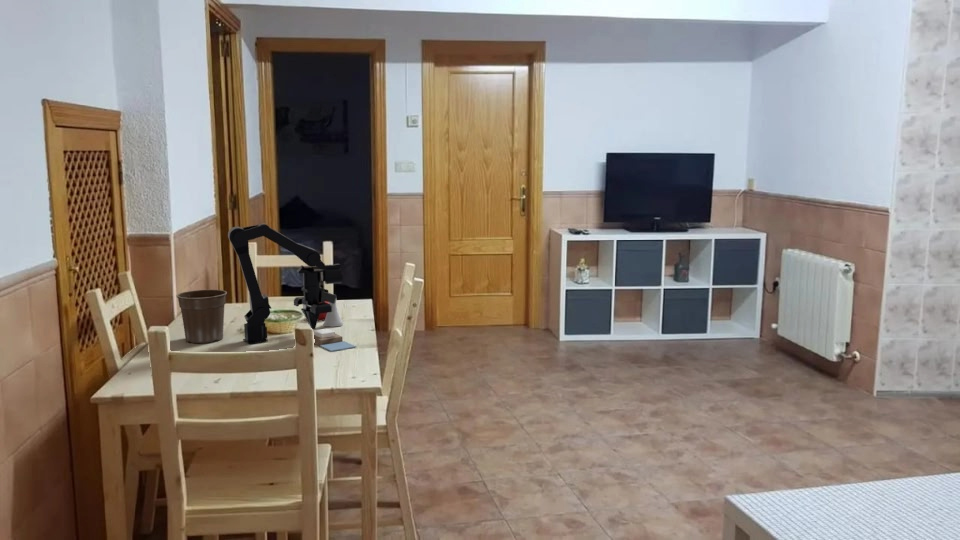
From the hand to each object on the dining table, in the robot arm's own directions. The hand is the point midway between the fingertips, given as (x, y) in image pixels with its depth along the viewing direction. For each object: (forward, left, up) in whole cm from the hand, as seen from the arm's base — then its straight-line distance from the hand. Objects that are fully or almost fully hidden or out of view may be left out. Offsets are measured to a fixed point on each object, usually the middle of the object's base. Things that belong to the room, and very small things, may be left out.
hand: (313, 328), depth 266 cm
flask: (+13, +11, -3) cm, 17 cm away
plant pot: (-32, +18, -3) cm, 37 cm away
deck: (0, -9, -3) cm, 10 cm away
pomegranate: (+15, +24, -3) cm, 28 cm away
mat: (0, -18, -2) cm, 19 cm away
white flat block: (0, -9, 0) cm, 9 cm away
